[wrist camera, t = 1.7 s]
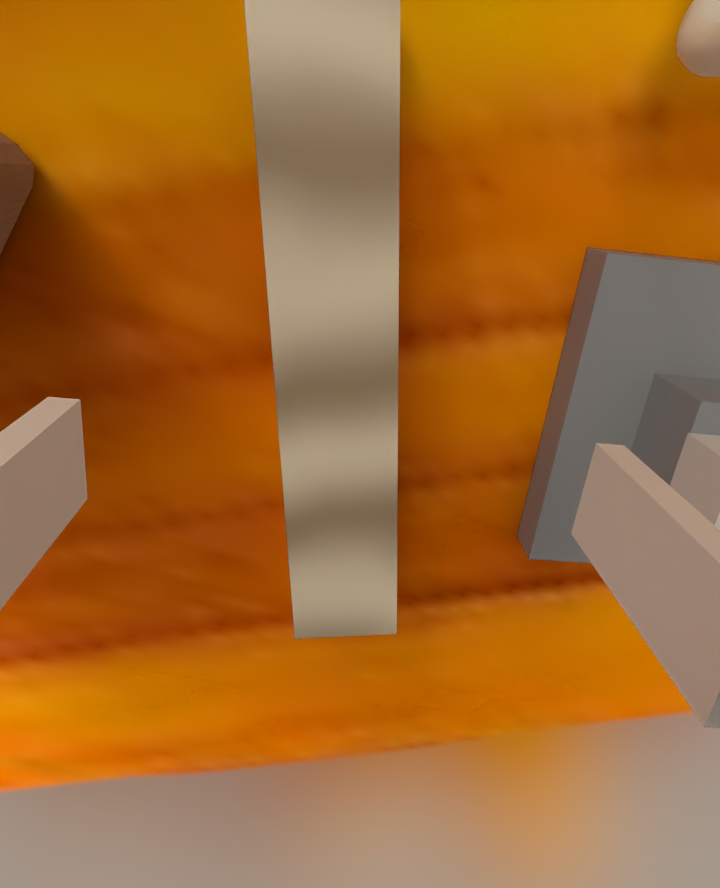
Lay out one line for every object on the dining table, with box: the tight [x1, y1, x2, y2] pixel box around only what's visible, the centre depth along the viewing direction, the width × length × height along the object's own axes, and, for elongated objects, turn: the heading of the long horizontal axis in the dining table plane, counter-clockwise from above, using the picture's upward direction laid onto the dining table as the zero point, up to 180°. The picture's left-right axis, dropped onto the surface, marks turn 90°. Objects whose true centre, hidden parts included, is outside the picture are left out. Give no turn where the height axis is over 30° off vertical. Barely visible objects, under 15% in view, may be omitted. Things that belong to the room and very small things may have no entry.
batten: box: [244, 0, 401, 639], centre depth 24 cm, size 24×4×5 cm, turn 1°
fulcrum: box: [517, 247, 720, 563], centre depth 25 cm, size 14×10×8 cm
